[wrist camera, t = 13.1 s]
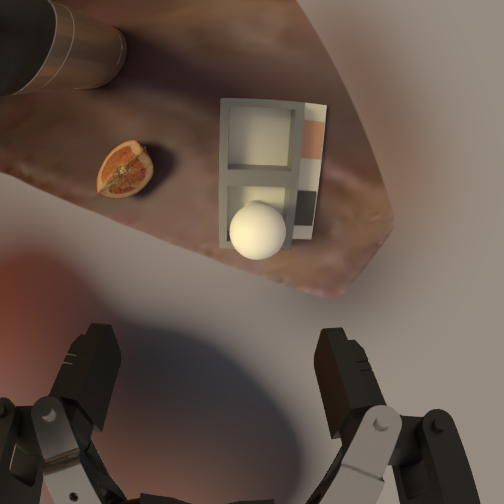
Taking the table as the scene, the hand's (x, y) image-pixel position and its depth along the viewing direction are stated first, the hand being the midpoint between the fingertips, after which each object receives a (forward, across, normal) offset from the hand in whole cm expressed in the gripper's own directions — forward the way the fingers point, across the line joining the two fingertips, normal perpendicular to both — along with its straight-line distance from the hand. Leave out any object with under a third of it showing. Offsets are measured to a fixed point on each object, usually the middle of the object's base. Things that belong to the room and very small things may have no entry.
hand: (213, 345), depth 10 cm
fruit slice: (+30, +13, 0) cm, 33 cm away
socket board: (+30, -6, +1) cm, 31 cm away
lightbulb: (+30, -3, +6) cm, 30 cm away
